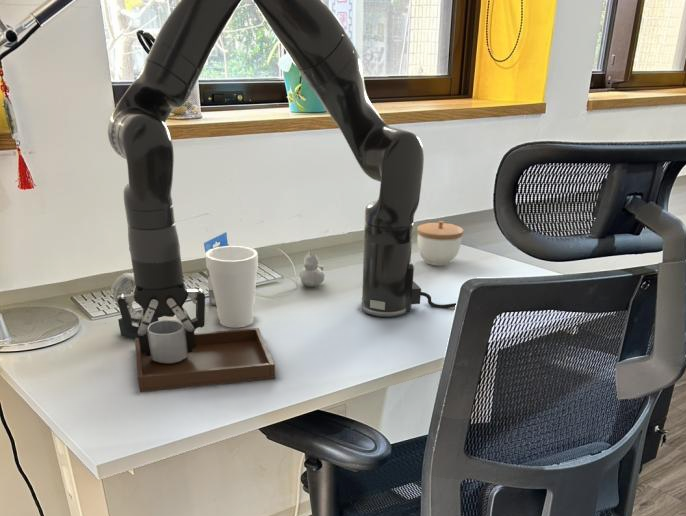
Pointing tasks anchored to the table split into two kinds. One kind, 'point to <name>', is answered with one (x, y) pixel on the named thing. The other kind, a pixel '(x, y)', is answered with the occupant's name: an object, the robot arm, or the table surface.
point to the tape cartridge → (208, 246)
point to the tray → (210, 362)
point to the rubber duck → (312, 271)
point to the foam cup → (233, 283)
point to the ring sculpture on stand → (125, 286)
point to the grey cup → (167, 341)
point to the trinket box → (439, 242)
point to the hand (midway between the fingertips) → (169, 351)
